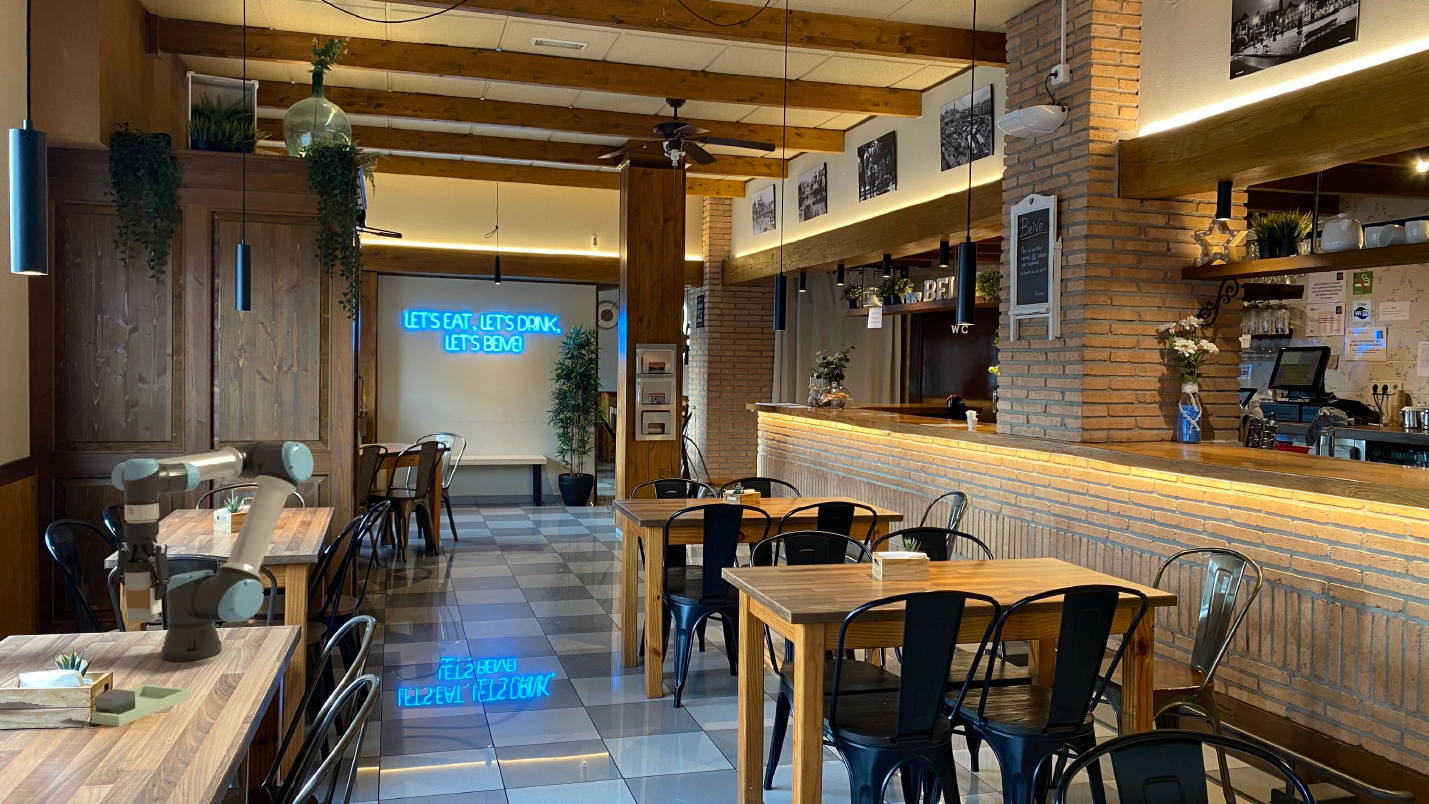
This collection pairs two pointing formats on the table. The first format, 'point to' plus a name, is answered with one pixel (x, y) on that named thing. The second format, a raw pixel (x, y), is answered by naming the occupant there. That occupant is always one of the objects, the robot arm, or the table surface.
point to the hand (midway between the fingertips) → (143, 611)
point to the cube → (115, 701)
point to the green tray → (144, 704)
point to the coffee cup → (138, 591)
